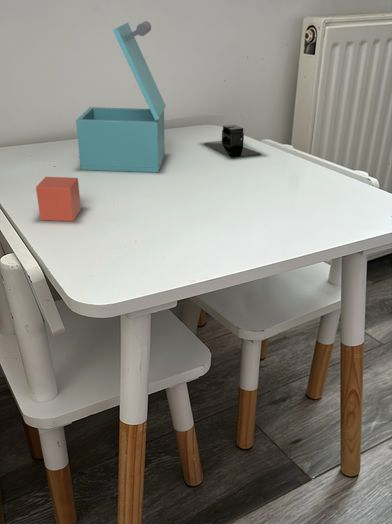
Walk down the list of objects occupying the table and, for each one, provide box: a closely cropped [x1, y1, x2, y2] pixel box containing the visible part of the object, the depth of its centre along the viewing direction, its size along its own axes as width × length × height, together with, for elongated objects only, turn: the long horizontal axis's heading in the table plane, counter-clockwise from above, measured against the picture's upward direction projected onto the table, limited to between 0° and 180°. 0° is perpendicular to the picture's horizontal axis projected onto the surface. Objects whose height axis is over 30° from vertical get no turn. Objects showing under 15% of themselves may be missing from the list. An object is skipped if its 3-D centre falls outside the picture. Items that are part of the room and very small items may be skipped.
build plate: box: [204, 124, 262, 160], centre depth 117 cm, size 12×7×5 cm, turn 26°
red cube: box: [35, 176, 82, 222], centre depth 84 cm, size 5×5×5 cm
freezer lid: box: [112, 20, 166, 121], centre depth 99 cm, size 15×12×5 cm
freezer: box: [75, 106, 166, 173], centre depth 106 cm, size 15×12×9 cm
